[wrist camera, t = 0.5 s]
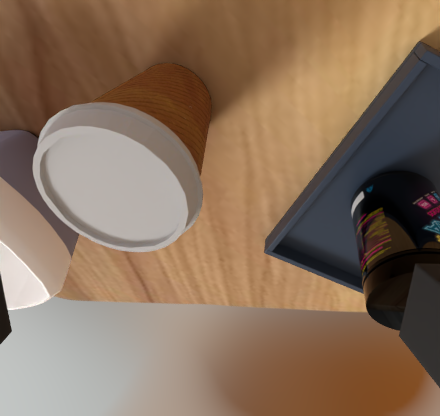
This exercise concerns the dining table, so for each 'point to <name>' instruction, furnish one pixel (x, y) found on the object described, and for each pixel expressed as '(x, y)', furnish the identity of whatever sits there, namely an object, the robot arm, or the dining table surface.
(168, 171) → the disposable coffee cup
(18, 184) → the bowl
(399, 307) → the supplement container
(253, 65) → the dining table surface
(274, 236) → the tray
